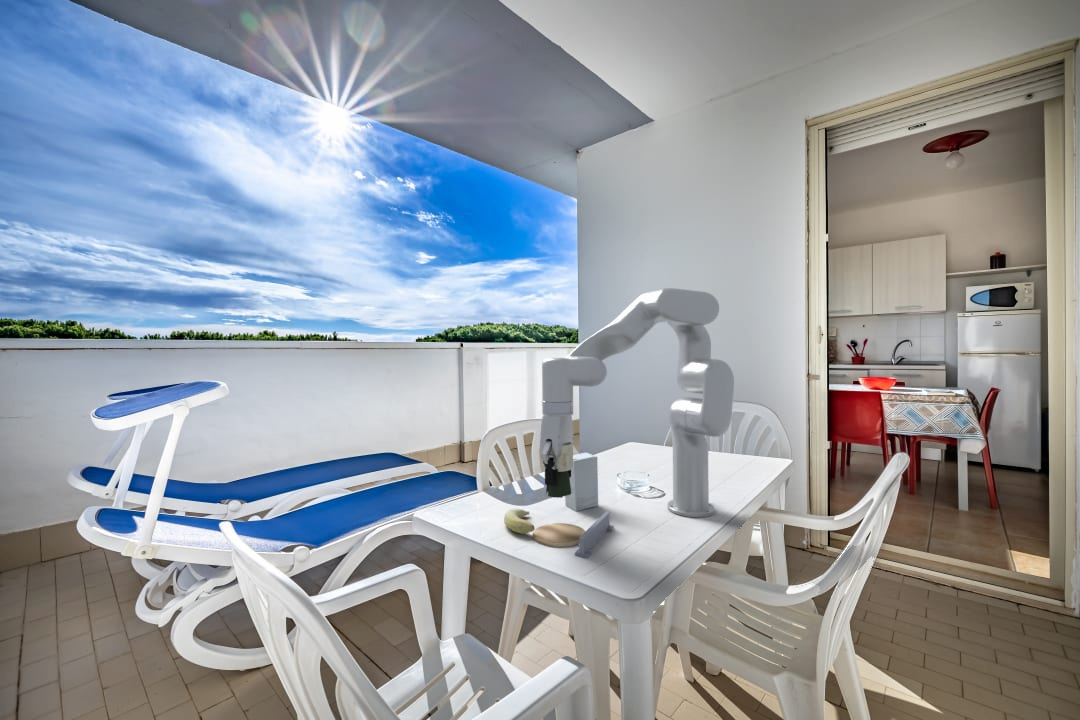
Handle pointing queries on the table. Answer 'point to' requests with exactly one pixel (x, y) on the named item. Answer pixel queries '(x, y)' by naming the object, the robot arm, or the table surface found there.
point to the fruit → (518, 521)
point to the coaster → (558, 535)
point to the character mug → (562, 472)
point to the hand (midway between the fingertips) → (558, 480)
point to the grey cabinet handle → (593, 535)
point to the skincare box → (583, 482)
